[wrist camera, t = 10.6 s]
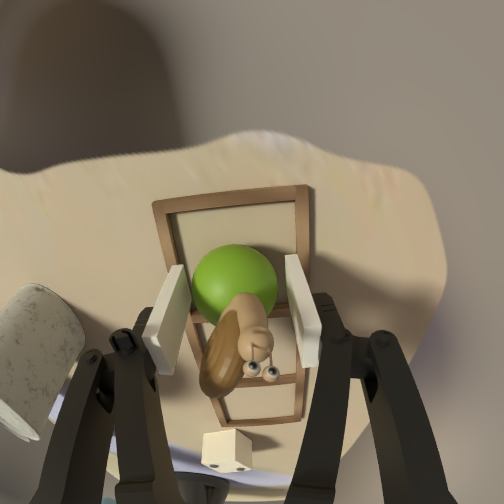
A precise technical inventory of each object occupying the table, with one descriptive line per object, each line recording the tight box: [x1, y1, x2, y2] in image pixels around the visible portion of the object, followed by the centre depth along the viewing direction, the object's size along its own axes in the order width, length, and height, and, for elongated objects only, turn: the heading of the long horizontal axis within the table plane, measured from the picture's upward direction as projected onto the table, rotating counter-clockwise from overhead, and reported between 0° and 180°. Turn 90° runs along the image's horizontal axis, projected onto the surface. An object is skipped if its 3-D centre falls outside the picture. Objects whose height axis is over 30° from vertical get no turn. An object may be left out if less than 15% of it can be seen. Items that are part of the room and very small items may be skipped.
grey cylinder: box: [0, 283, 85, 441], centre depth 17 cm, size 10×10×12 cm
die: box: [201, 429, 252, 473], centre depth 30 cm, size 5×5×5 cm
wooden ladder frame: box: [152, 185, 309, 427], centre depth 23 cm, size 28×10×1 cm, turn 5°
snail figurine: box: [192, 244, 280, 398], centre depth 14 cm, size 5×6×12 cm
